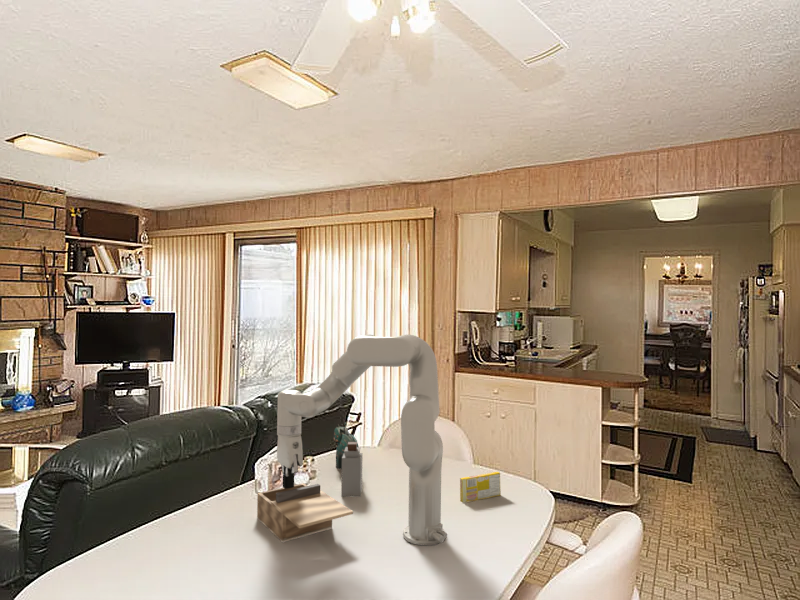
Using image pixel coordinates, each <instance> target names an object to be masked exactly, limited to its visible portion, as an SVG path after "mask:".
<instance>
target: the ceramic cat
mask: <svg viewBox="0 0 800 600" xmlns="http://www.w3.org/2000/svg"><path fill="white" fill-rule="evenodd" d="M336 424H337V425H336V427H335V428H334V431H333V441H334V442H335V444H336V449H335V451H336V452H335V468H336V469H338V470H342V456H343V454H344V450H345V448H346V447H348V446H347V444H348V442H357V447H360V446H359V442H358V440H357V438H356V437H355V436H354V435H353V434H351V433H349V429H348V428H347V427H348V424H347V421H344V423H343V425H344V426H340V425H339V423H336ZM359 453H361V451H360V452H359Z"/></svg>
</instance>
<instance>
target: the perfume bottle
mask: <svg viewBox="0 0 800 600" xmlns="http://www.w3.org/2000/svg"><path fill="white" fill-rule="evenodd" d="M357 443H358V441H357V442H348V444H347V446H348V447H346V448H345V450H344V454H343V456H342V469H341V491H340V492H341V493H340V494H341V495H340V496H341V497H361V496H362V495H361V494H362V491H363V452H361V447H360V446H359V447H357ZM359 452H360V453H359Z"/></svg>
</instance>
